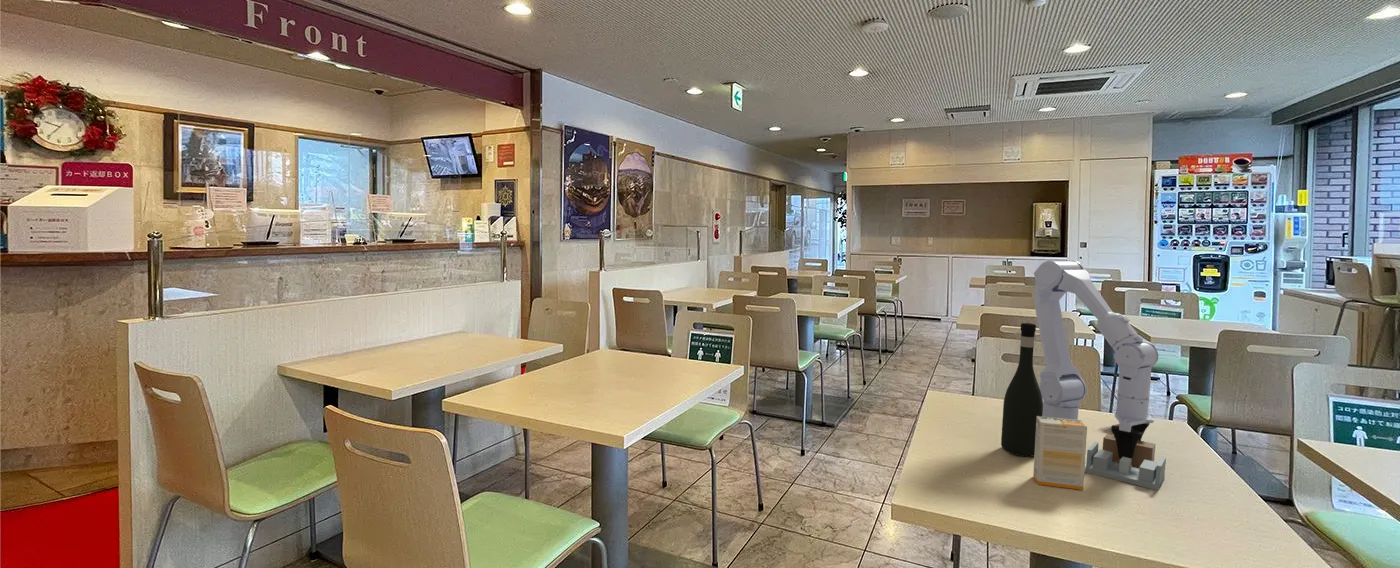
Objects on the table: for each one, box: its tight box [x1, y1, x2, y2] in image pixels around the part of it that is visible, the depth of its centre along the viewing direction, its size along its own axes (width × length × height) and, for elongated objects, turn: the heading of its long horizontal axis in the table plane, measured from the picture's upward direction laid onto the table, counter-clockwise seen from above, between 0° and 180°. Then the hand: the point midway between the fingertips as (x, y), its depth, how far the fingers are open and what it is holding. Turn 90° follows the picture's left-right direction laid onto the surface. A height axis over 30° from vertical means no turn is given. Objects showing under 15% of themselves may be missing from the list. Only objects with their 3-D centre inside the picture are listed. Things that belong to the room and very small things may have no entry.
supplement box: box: [1032, 416, 1088, 491], centre depth 122 cm, size 8×5×13 cm, turn 71°
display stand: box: [1084, 441, 1167, 491], centre depth 127 cm, size 13×8×5 cm, turn 46°
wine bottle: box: [1000, 322, 1043, 457], centre depth 139 cm, size 8×8×30 cm
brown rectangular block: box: [1102, 433, 1156, 468], centre depth 135 cm, size 9×4×5 cm, turn 46°
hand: (1128, 455), depth 135 cm, fingers open, 6 cm apart
